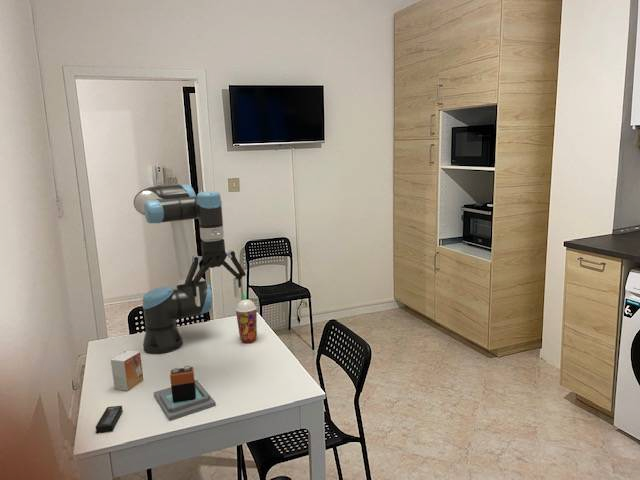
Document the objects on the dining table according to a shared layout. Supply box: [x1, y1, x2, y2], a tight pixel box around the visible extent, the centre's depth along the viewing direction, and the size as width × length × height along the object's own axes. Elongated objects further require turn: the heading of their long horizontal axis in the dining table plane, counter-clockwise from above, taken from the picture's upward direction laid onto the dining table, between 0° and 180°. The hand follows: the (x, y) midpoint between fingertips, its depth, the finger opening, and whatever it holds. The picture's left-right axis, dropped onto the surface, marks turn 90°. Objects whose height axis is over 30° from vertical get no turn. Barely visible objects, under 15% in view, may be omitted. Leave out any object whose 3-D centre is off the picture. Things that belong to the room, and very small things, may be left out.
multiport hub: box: [95, 405, 124, 434], centre depth 139 cm, size 4×11×2 cm, turn 7°
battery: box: [169, 365, 196, 402], centre depth 147 cm, size 4×7×10 cm, turn 104°
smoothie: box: [235, 292, 258, 344], centre depth 193 cm, size 8×8×20 cm
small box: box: [110, 349, 144, 392], centre depth 160 cm, size 8×6×10 cm
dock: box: [153, 379, 217, 422], centre depth 149 cm, size 18×14×2 cm
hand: (217, 301), depth 161 cm, fingers open, 13 cm apart
